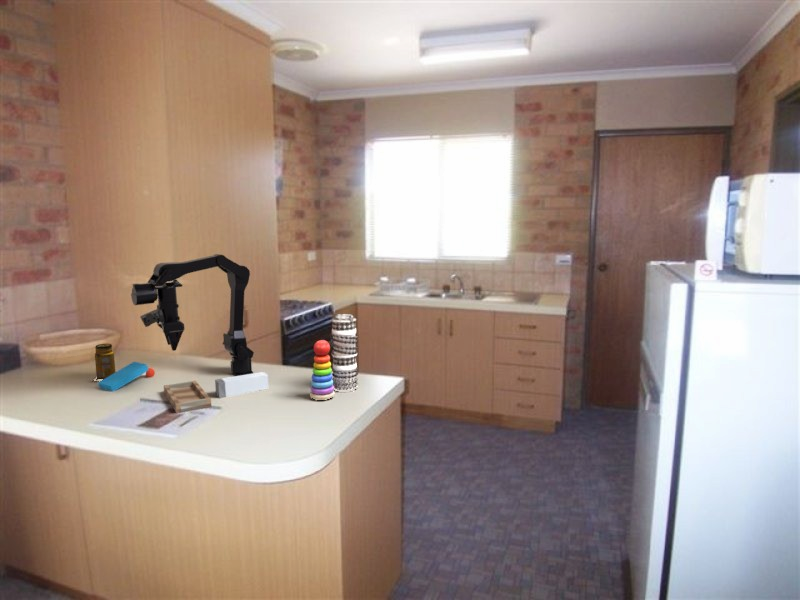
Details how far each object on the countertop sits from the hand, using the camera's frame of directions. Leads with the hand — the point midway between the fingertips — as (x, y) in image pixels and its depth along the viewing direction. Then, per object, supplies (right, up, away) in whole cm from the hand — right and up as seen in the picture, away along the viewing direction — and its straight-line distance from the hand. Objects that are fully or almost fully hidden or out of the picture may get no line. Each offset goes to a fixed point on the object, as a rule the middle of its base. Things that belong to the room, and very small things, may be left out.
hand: (171, 347), depth 182 cm
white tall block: (+24, -14, -3) cm, 28 cm away
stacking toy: (+51, -15, -8) cm, 54 cm away
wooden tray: (+9, -16, -10) cm, 20 cm away
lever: (-18, -13, +7) cm, 23 cm away
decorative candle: (+58, -14, +1) cm, 59 cm away
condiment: (-29, -12, +12) cm, 34 cm away
